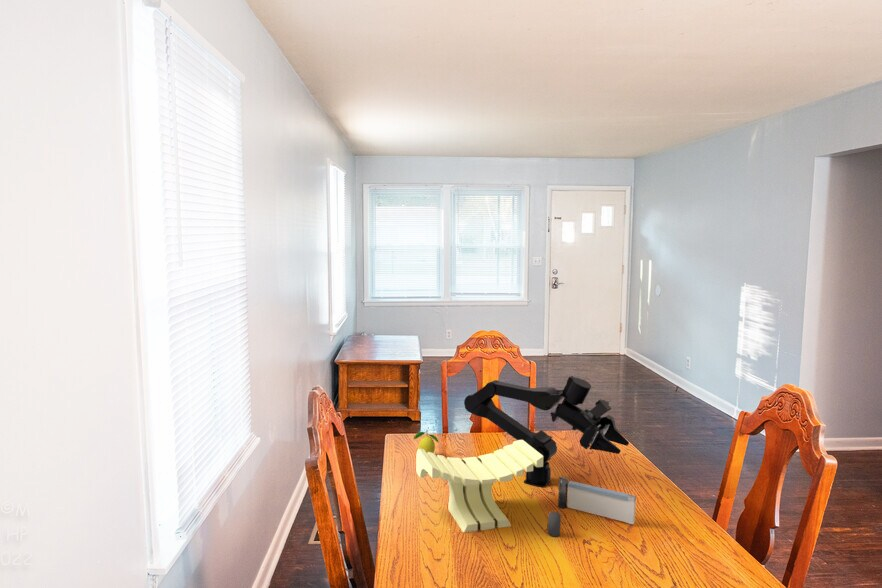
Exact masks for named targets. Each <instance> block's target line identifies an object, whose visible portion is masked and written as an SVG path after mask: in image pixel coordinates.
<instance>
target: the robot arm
mask: <svg viewBox="0 0 882 588" xmlns="http://www.w3.org/2000/svg"><path fill="white" fill-rule="evenodd" d="M591 389H592V385H591V383H589V382H588V381H586V380H585V379H582V378H578V377H575V376H573V375H571V376H569V377H568V378H567V380H566V384H565V386H564V388H563V389H556V388H554V387H544V386H543V387H527V386H523V385H517V384H514V383H507V382H504V381H500V380H498V379H495V380H492V381H488V382H487V383H486V384H485V385H484V386H483V387H481V388H480V389H479V390H478V391H475V392H473V393H471V394H469V395H467V396H466V397H465V398H464V400H463V403H464V409H465V410H466V411H467V412H468V413H470V414H471V415H475V416H476V417H478V418H479V417H480V418H483V419H487V420H488V421H490V422H491V423H493V424H494V425H495V426H497V427H498V428H499V429H501V430H503V431H504V432H505V433H507V434H508V435H509V436H511V437H512V438H514V439H515V441H517V440H524V441H525V442H526V443H527V444H529V445H530V446H531V447H532V448H534V449H535V450H536V451H538V452H539V453H540V454H541V455H543V467H535V466H534V465H533V471H531V472H526V471H525V479H524V480H523V483H524V484H528V485H532V486H537V487H540V488H545V487H546V486H547V485H548V484H549V483H550V481H551V475H552V474H551V473H552V472H551V471H552V469H551V467H550V462H549V461H550V460H551V458H552V457H554V456H555V454H557V451H558V446H557V442H556V440H554V439H553V436H551V435H549V434H547V433H546V432H545V431H544V430H542V429H541V430H539V431H537V432H534V431H532V430H530V429H528V428H527V427H525V425H523V424H522V423H520V422H518V421H517V420H516V419H515V418H513V417H511V416H510V415H508V414H507V413H506V412H504V411H503V410H501V409H500V408H498V406H496V404H495V403H494V401H493V398H494V397H495V396H498V397H502V398H503V397H504V398H508V399H513V400H517V401H521V402H524V403H525V402H526V403H528V404H529V405H531V406H532V407H535V408H537V409H539V410H541V411H549V410H551V409H553V408H554V407H555V409H554V410H552V411H551V412H550V416H551V417H550V418H551V422H553V423H555V422H557V421H558V420H559V419H560V420H562V421H564V422H565V423H567V424H568V425H570V426H571V427H572V428H571V429H572V430H573V431H577V430H578V431H579V432H580V433H582V435H581V437H580V439H579V440H578V441H579V444H580V446H581V447H582V448H583V449H585V450H588V449H589V450H592V451H593V450H594V451H601V452H606V453H610V454H611V453H612V454H617V455H619V454H620V453H621V449H620V448H619V447H617V445H615V444H614V443H616V444H619V445H623V446H627V447H628V446H629V444H630V442H629V441H628V439H627V438H626V437H625V436H623V434H622V433H621V432H620V431H619V429H617V426H616V420H615V417H614V416H612V415H610V414H606V413H607V412H609V411H610V410H612V407H611V406H610V403H609V401H606V400H605V399H601V398H600V399H598V401H596V402H595V403H594V404H595V406H594V407H592V408H591V409H590V410H589V409H588V408H586V409H582V408H581V407H579V406H578V405H583V404H584V402H585V400H586V398H587V396H588V394H589V392H590V391H591ZM562 399H563V400H562ZM561 400H562V402H560V401H561ZM604 414H605V415H604Z"/></svg>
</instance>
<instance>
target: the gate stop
mask: <svg viewBox="0 0 882 588" xmlns="http://www.w3.org/2000/svg"><path fill="white" fill-rule="evenodd" d="M561 516H562V515H561V514H560V513H559V512H556V511H550V512H549V513H548V518H547V519H548V521H547V522H548V524H547V535H548V536H550V537H553V538H557V537H560V536H561V520H562V518H561Z"/></svg>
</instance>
